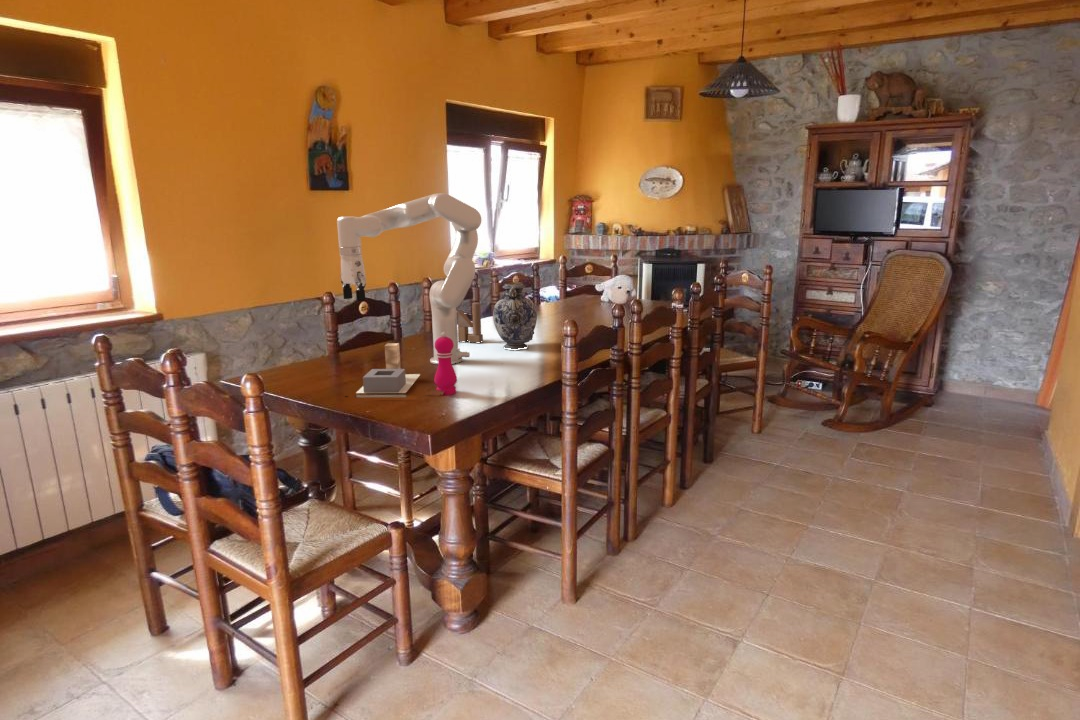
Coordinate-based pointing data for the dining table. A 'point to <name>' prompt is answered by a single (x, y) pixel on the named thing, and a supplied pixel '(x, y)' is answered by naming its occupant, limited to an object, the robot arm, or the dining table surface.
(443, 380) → the pink bowling pin
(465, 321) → the brown braced post frame
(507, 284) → the decorative vase
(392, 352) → the square wooden peg
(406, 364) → the dining table surface
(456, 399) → the dining table surface
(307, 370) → the dining table surface
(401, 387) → the board
